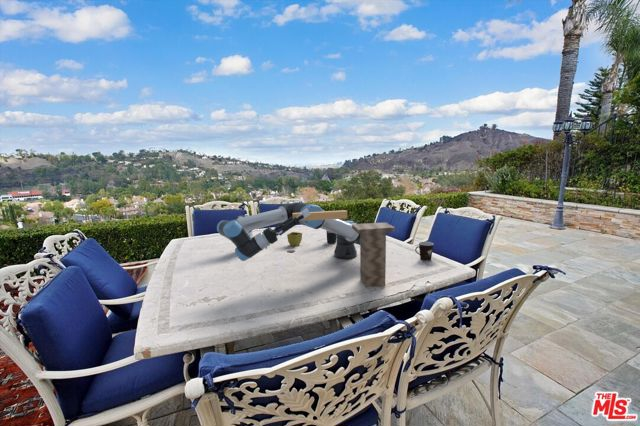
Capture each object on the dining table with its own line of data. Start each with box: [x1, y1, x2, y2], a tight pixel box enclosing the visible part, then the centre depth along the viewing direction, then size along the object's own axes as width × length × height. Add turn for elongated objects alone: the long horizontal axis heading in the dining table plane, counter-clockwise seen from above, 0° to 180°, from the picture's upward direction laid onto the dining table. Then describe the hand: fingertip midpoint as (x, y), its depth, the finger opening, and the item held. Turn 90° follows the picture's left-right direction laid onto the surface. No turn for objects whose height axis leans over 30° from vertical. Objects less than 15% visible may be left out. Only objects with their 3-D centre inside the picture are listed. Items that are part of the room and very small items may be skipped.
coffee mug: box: [414, 241, 434, 261], centre depth 179 cm, size 12×9×10 cm
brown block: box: [292, 209, 348, 221], centre depth 136 cm, size 26×3×4 cm, turn 98°
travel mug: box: [325, 230, 337, 245], centre depth 219 cm, size 8×8×20 cm
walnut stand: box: [352, 222, 396, 288], centre depth 144 cm, size 18×12×30 cm, turn 98°
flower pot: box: [286, 231, 303, 247], centre depth 217 cm, size 9×9×9 cm
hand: (308, 211), depth 135 cm, fingers closed on brown block, 3 cm apart
